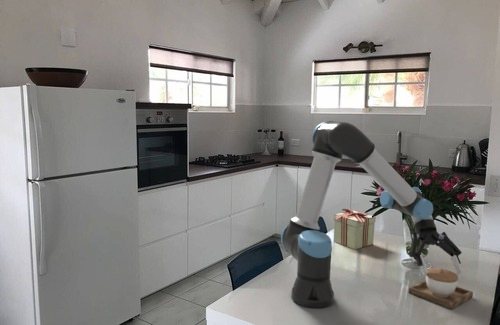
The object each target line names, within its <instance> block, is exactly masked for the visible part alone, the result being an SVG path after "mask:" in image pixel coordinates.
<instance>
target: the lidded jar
mask: <svg viewBox="0 0 500 325" xmlns="http://www.w3.org/2000/svg"><path fill="white" fill-rule="evenodd" d="M427 270H428V272H429V273H427V274H426V275H425V280H426V284H427V287H428V289H429V290H430V291H431V293H432V294H433V295H435V296H438V297H449V295H451V294H452V293H453V292H454V291H455V289H456V286H457V287H458V281H459V275H458V274H457V273H455V272H454V271H451V270H447V269H443V268H436V267H435V268H432V267H431V268H427Z"/></svg>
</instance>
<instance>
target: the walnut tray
mask: <svg viewBox="0 0 500 325" xmlns="http://www.w3.org/2000/svg"><path fill="white" fill-rule="evenodd" d="M408 294H411V295H413V296H416V297H418V298H421V299H423V300H426V301H428V302H430V303H433V304H436V305H439V306H441V307H444V308H445V309H448V310H451V311H452V310H455V309H456V308H458V307H459V306H461V305H463V304H464V303H466V302H467V301H469V300H472V299H473V294H474V291H471V290H468V289H466V288H463V287H460V286H458V285H457V286H456V289H455V291H454V292H453V293H452V294H451V295H449V297H438V296H435V295H433V294H432V293H431V291H430V290H429V289H428V287H427V284H426V279H425V280H422V281H420V282H418V283H416V284H413V285H411V286H409V287H408Z"/></svg>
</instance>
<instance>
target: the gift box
mask: <svg viewBox="0 0 500 325" xmlns="http://www.w3.org/2000/svg"><path fill="white" fill-rule="evenodd" d="M341 211H344V212H340V213H334V215H333V221H334V228H333V242H334V243H336V244H338V245H341V246H344V247H347V248H350V249H352V250H358V249H362V248H365V247H369V246H372V245H374V237H375V223H376V218H377V217H376V216H374V217H373V218H372V216H373V215H371V214H369V213H367V212H360V211H357V210H352V209H349V208H348V209H347V208H342V210H341Z"/></svg>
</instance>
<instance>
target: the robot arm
mask: <svg viewBox="0 0 500 325" xmlns="http://www.w3.org/2000/svg"><path fill="white" fill-rule="evenodd" d="M311 141H312V144H313V147H312V150H311V153H312V155H313V158H312V159H313V160H312V162H311V163H312V164H311V167H310V170H309V172H308V175H307V179H306V182H305V185H304V188H303V192H302V195H301V198H300V201H299V205H298V208H297V211H296V214H295V216H293V217H291V218H290V221H289V223H288V225H286V226H285V227H284V228H283V230H282V231H281V235H280V241H281V245H282V246H283V248H284V249H285V251H286V253H288V254H289V255H290V256H292V257H293V259H295V260H296V261H297V269H296V271H297V272H296V278H295V281H294V283H293V285H292V289H291V299H292V301H293V302H294V303H296V304H298V305H300V306H302V307H305V308H312V309H323V308H326V307H330V306H332V305H333V304H334V302H335V292H334V290H333V286H332V282H331V269H332V268H331V267H332V252H333V246H332V244H333V243H332V242H333V241H332V239H331V237H330V236H329V235H328V234H326V233H325V232H320V229H321V228H320V226H319V224H318V221H319V218H320V216H321V211H322V209H323V206H324V202H325V199H326V196H327V193H328V189H329V188H330V184H331V183H330V182H331V180H332V177H333V174H334V170H335V167H336V165H337V163H340V162H341V161H342V158H343V156H344V157H346V158H348V159H349V160H351V162H352V163H353V164H356V165H360V167H362V169H363V170H365V171H366V173H368V174H369V176H371V177H372V178H373V179H374V180H375V181H376V183H378V185H380V187H381V188H383V189H384V190H383V191H382V192H381V194H380V197H379V203H380V205H381V206H382V207H383V208H385V209H389V210H390V209H392V210H396V211H399V212H401V213H404V214H406V215H409V216H410V217H411V221H412V222H413V226H414V228H415V231H416V232H414V231H413V233H412V234H410V238H411V241H410V242H411V243H410V249H409V254H408V255H409V257H410V258H413V260H415V261H416V264H417V266H418V267H420V270H421V273H422V275H423V276H426V274H427V273H429V272H428V266H427V264H426V261H425V259H424V256H423V255H421V254H422V253H423V250H424V248H425V246H436V247H439V248H440V249H441V250H442V251H444V252H445V253H446V254H448V255H449V256H450V261H451V263H452V266H453V267H454V270H455V272H456V273H455V274H456V275H461V273H463V269H462V267H461V264H462V263H461V259H460V258H459V256H460V255H461V254H462V253H463V252H462V251H461V250H460V249H459V247H458V246H457V245H456V244H455V243H454V242H453V241H452V240H451V238H449V236H448V234H447V233H446V232H445V231H442V233H439V232H438V231H437V226H436V224H435V221H434V217H433V215H432V214H433V212H434V205H433V203H432V202H431V201H430V200H428V199H426V197H425V196H424V197H425V198H424V197H422V193H423V191H422V190H420V189H421V188H420V189H419V187H417V186H413V187H411V185H410V184H409V183H408V182H407V181H406V180H405V179H404V178H403V177H402V176H401V175H400V174H399V173H398V171H396V170H395V169H394V168H393V166H391V165H390V163H388V161H387V160H386V159H385V158H384V157H383V156H382V155H381V154H380V152H378V151H377V150H376V145H375V143H374V142H372V140H371V139H370V138H369V137H368V136H367V135H366V134H365V133H364V132H363V131H362V130H360V128H358V127H357V126H356V125H354V124H352V123H350V122H345V121H333V120H328V121H323V122H321V123H318V125H316V127H315V128H314V129H313V131H312V135H311ZM421 191H422V192H421ZM418 239H419V240H420V243H419V245H417V243H418ZM417 246H418V248H417Z"/></svg>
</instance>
